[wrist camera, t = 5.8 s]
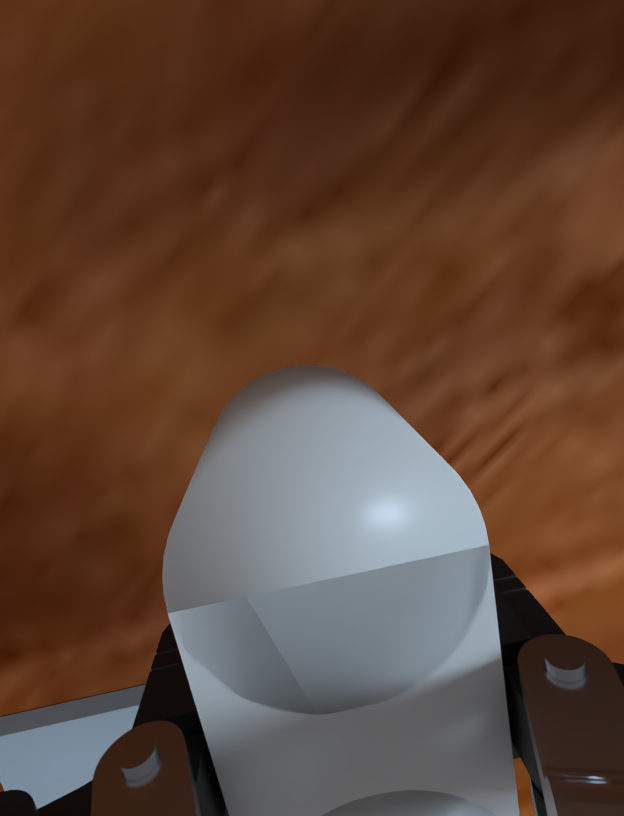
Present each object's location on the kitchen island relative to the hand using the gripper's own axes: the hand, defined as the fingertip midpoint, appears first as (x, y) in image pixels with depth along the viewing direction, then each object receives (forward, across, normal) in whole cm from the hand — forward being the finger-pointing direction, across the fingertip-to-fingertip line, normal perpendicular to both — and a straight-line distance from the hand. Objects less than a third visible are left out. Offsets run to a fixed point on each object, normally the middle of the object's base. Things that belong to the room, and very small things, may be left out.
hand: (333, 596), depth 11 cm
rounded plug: (+1, 0, +1) cm, 1 cm away
